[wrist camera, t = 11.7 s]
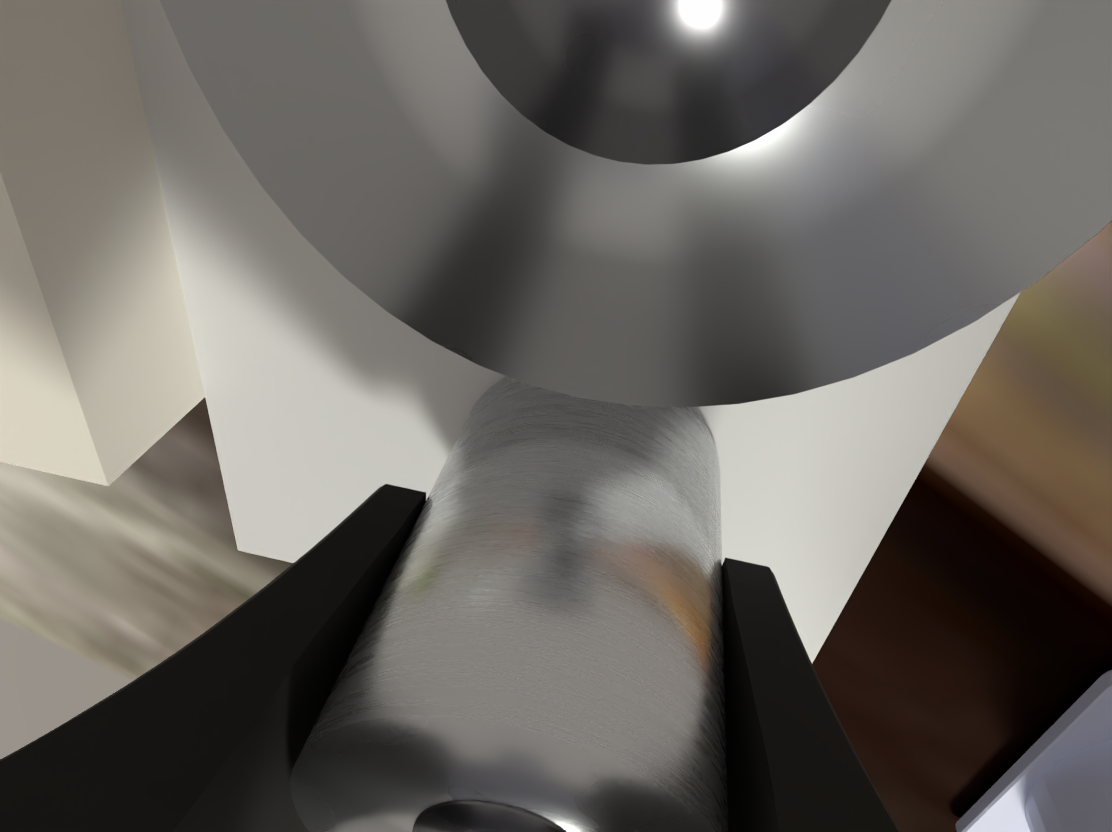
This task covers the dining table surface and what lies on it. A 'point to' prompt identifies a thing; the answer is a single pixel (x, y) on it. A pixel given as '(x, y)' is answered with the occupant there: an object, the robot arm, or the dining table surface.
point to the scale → (330, 332)
